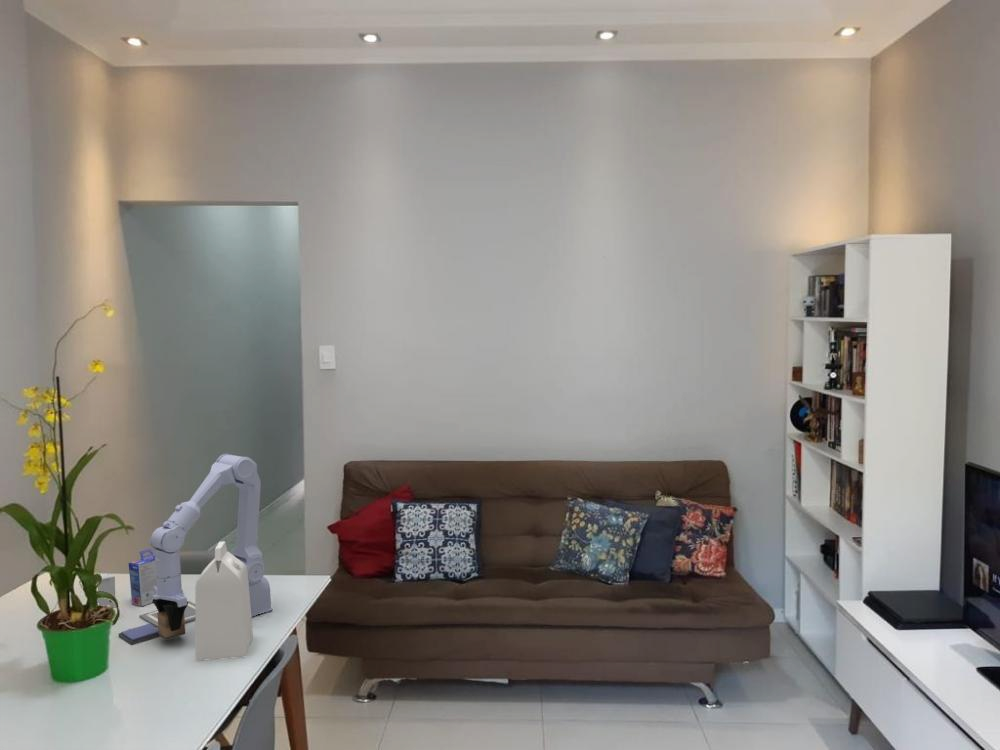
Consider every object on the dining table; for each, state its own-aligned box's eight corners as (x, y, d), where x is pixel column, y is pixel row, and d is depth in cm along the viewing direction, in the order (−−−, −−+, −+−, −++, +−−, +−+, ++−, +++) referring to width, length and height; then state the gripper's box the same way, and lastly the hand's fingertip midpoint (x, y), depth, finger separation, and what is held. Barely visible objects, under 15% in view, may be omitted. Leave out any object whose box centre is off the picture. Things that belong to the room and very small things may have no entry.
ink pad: (149, 627, 209) (149, 622, 209) (163, 635, 203) (163, 630, 203) (118, 636, 203) (118, 632, 203) (131, 645, 197) (131, 640, 197)
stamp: (178, 629, 203) (176, 606, 202) (185, 633, 200) (184, 610, 200) (158, 635, 199) (157, 612, 199) (165, 640, 197) (164, 616, 196)
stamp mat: (189, 603, 226) (189, 600, 226) (212, 615, 216) (212, 612, 216) (139, 617, 215) (139, 614, 215) (162, 630, 206) (161, 628, 206)
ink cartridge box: (160, 593, 234) (158, 545, 233) (172, 596, 231) (169, 547, 230) (129, 603, 226) (127, 554, 225) (141, 607, 223) (138, 557, 222)
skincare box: (92, 625, 211) (89, 580, 210) (90, 619, 215) (87, 576, 214) (117, 619, 214) (115, 576, 213) (115, 614, 218) (112, 571, 217)
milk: (205, 640, 199) (200, 539, 197) (253, 636, 201) (248, 536, 199) (195, 661, 188) (189, 553, 186) (245, 656, 189) (240, 550, 187)
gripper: (140, 572, 200) (143, 624, 202) (165, 585, 191) (168, 640, 192) (167, 565, 206) (170, 616, 207) (193, 577, 196) (196, 631, 197)
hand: (171, 627), depth 200 cm, fingers closed on stamp, 4 cm apart
